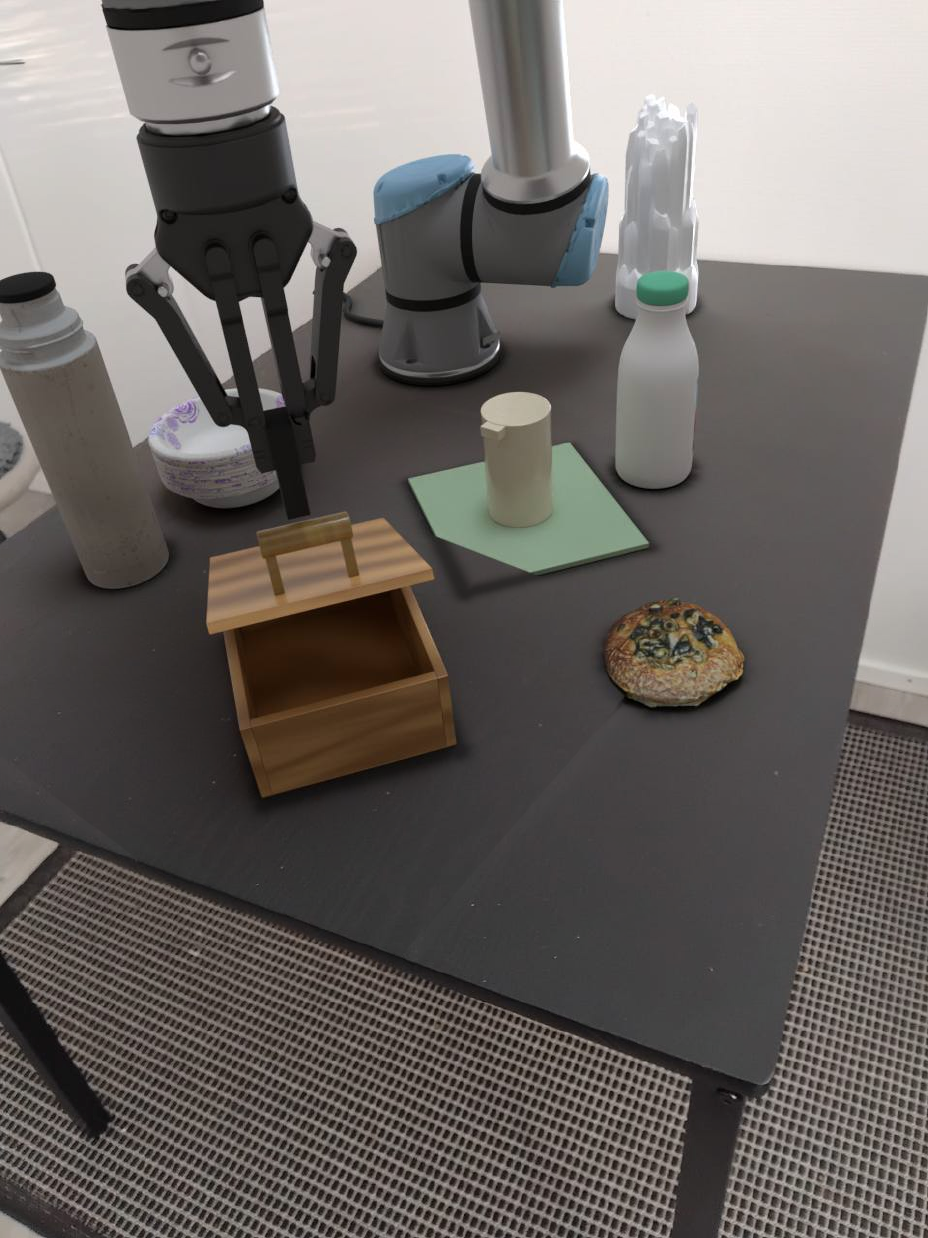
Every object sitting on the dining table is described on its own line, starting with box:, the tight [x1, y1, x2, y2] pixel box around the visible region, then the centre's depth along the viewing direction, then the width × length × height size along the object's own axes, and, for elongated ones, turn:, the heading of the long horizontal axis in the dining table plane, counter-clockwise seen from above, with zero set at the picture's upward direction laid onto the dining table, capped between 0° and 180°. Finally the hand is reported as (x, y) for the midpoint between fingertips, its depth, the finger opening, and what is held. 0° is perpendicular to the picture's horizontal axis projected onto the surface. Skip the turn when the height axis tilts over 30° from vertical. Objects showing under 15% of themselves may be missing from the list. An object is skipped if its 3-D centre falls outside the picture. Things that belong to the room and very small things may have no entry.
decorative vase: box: [614, 93, 699, 320], centre depth 124 cm, size 11×11×25 cm
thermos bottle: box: [0, 271, 170, 590], centre depth 86 cm, size 8×8×28 cm
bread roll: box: [603, 597, 746, 708], centre depth 77 cm, size 11×11×5 cm
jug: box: [480, 391, 553, 528], centre depth 93 cm, size 9×6×11 cm
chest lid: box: [205, 510, 435, 635], centre depth 71 cm, size 20×15×5 cm
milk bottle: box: [614, 271, 700, 490], centre depth 94 cm, size 8×8×20 cm
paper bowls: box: [147, 387, 285, 509], centre depth 102 cm, size 15×15×8 cm
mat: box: [407, 441, 650, 576], centre depth 96 cm, size 20×18×1 cm
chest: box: [223, 585, 457, 799], centre depth 77 cm, size 20×15×8 cm
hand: (296, 506), depth 64 cm, fingers closed
